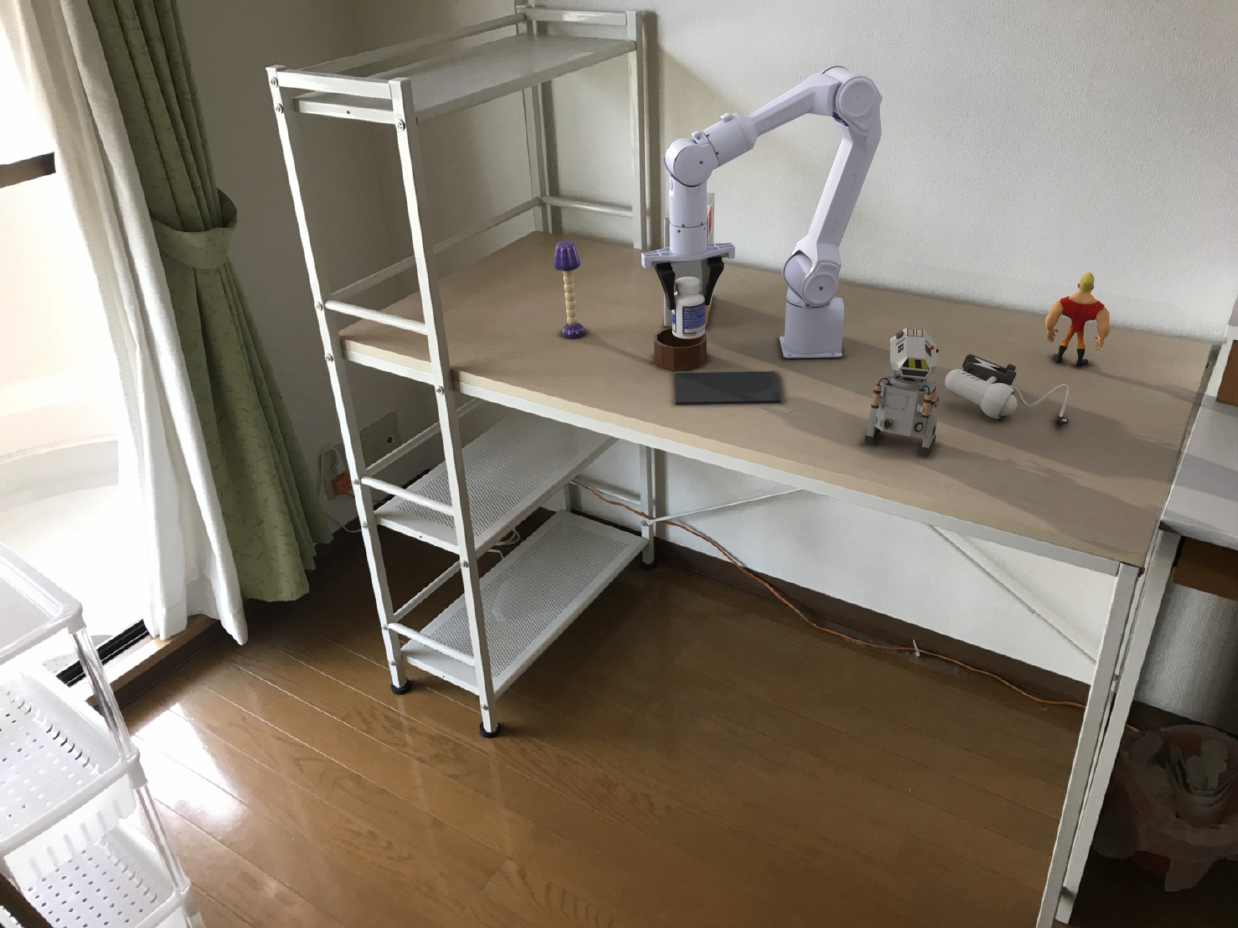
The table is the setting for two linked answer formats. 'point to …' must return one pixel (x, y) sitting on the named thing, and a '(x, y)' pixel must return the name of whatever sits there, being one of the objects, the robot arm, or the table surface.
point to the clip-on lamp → (992, 387)
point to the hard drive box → (689, 267)
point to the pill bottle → (688, 309)
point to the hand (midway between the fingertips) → (688, 305)
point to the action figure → (1079, 318)
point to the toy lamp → (568, 285)
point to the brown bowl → (679, 351)
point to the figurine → (907, 391)
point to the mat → (726, 388)
